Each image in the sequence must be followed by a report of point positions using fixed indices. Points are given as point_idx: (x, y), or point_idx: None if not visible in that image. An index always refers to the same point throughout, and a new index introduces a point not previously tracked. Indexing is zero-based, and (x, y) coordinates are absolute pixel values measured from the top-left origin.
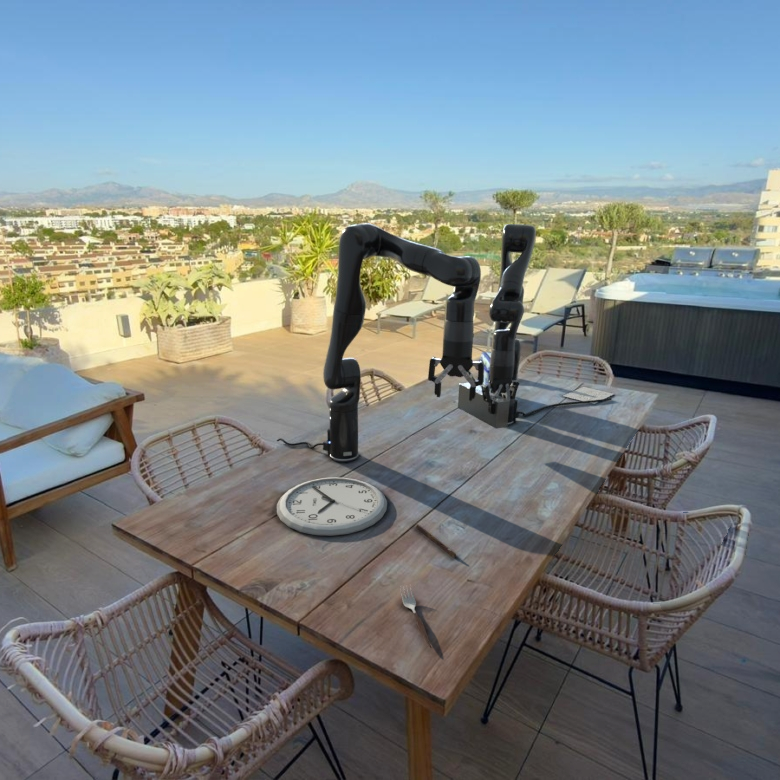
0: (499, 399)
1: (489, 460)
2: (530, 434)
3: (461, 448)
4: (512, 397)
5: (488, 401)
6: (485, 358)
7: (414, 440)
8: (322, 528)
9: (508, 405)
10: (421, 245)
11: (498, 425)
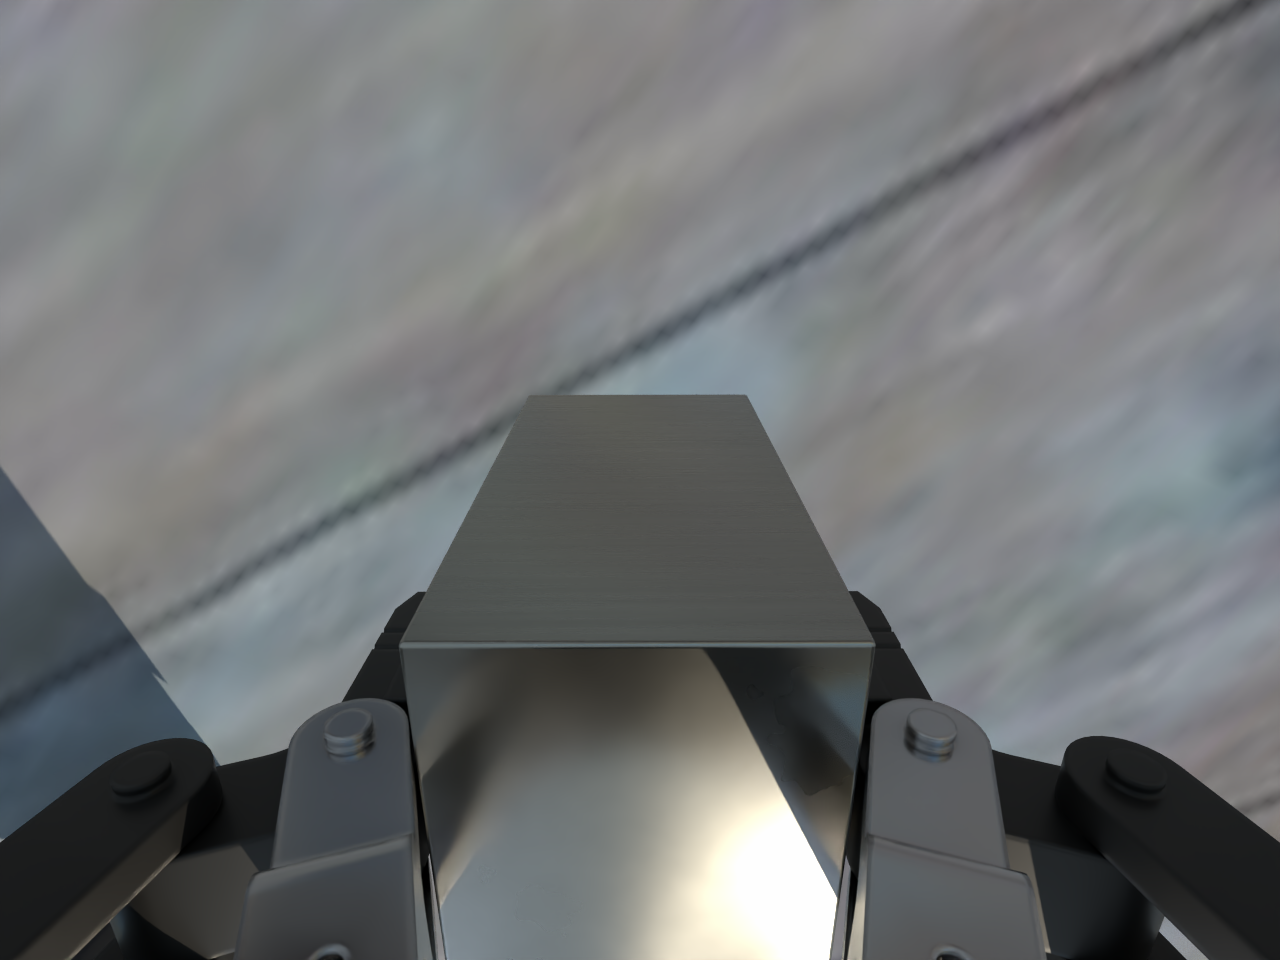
0: (645, 819)
1: (781, 281)
2: (70, 600)
3: None
4: (183, 780)
5: (1153, 771)
6: None
7: None
8: None
9: (469, 561)
10: None
11: (709, 407)
